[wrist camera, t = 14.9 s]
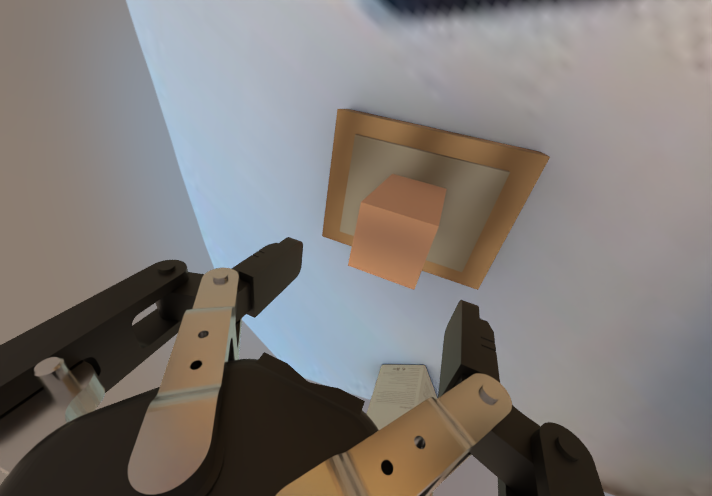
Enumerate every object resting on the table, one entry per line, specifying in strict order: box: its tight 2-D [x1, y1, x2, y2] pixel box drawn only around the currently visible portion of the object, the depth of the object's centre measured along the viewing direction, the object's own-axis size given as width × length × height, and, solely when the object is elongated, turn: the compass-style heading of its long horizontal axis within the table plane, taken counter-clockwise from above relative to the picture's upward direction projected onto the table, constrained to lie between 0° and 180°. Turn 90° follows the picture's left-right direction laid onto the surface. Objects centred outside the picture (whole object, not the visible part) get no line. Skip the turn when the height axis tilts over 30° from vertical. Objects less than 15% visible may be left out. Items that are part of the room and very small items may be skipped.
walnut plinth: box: [322, 109, 550, 290], centre depth 23 cm, size 16×12×3 cm
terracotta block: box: [348, 174, 447, 290], centre depth 19 cm, size 4×4×8 cm
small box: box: [367, 365, 437, 496], centre depth 31 cm, size 8×6×13 cm
